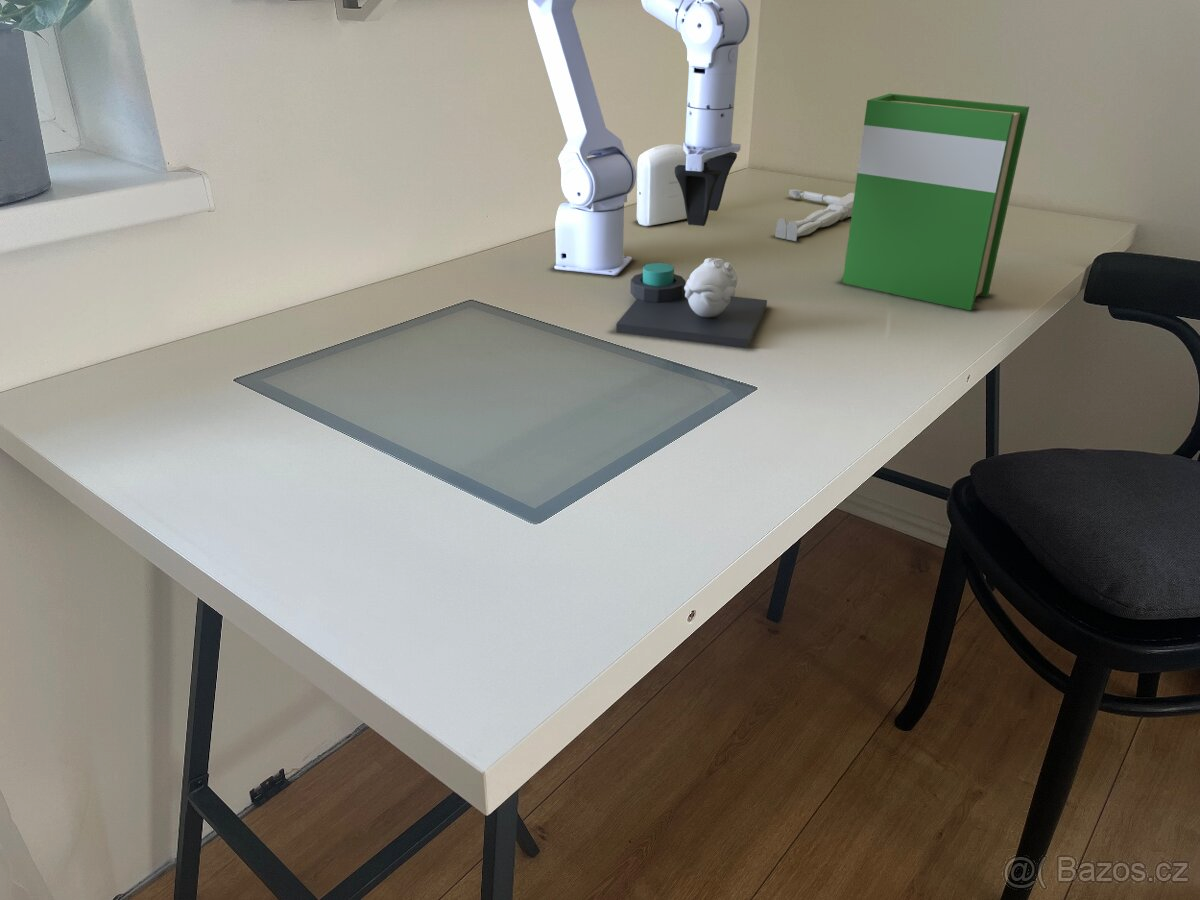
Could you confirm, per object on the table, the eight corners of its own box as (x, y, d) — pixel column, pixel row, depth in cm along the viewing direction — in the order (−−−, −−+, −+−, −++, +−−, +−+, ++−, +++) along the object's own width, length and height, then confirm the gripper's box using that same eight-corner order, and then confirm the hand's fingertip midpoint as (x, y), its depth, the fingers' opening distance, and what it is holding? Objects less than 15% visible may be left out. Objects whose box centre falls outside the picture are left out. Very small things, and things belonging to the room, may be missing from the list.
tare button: (639, 286, 119) (639, 270, 118) (647, 276, 122) (647, 261, 121) (669, 289, 118) (669, 273, 117) (676, 279, 121) (677, 264, 120)
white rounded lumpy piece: (745, 314, 114) (750, 259, 111) (710, 329, 110) (714, 272, 106) (707, 302, 118) (710, 248, 114) (671, 316, 113) (673, 261, 110)
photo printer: (647, 228, 152) (649, 150, 146) (632, 222, 155) (633, 146, 149) (696, 219, 157) (700, 144, 151) (680, 213, 160) (684, 139, 154)
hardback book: (988, 295, 124) (1029, 106, 112) (970, 310, 119) (1011, 114, 107) (863, 270, 133) (889, 93, 122) (842, 283, 128) (867, 100, 116)
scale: (604, 331, 112) (604, 307, 111) (639, 291, 125) (639, 269, 124) (747, 348, 107) (749, 324, 106) (768, 305, 120) (770, 283, 119)
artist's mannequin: (715, 205, 153) (809, 170, 172) (714, 227, 155) (807, 190, 174) (866, 236, 137) (950, 194, 156) (863, 261, 139) (947, 216, 158)
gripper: (731, 117, 105) (722, 234, 112) (753, 99, 117) (744, 206, 124) (671, 113, 107) (666, 229, 114) (699, 96, 119) (693, 201, 126)
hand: (703, 217), depth 119 cm, fingers open, 7 cm apart
